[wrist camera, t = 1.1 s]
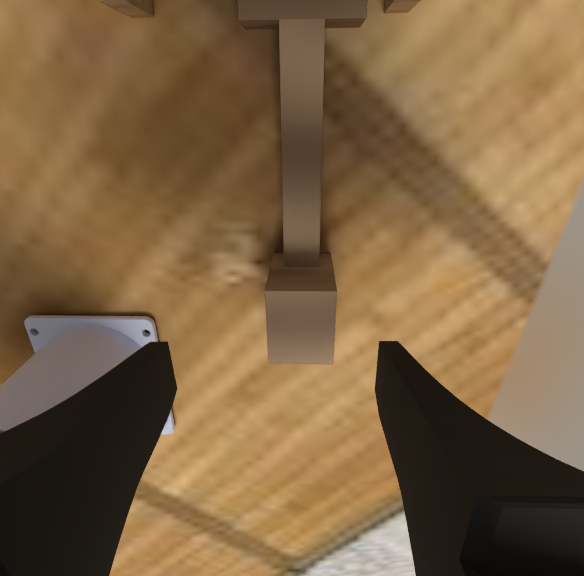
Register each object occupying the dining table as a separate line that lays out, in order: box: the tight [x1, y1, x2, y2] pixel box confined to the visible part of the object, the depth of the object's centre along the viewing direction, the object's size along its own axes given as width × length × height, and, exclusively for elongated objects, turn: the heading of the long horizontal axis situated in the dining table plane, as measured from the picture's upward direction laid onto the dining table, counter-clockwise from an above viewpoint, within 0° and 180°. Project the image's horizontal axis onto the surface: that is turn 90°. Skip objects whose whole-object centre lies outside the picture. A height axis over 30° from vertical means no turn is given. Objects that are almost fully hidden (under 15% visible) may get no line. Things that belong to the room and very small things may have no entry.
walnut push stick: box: [237, 0, 367, 364], centre depth 17 cm, size 16×5×5 cm, turn 1°
